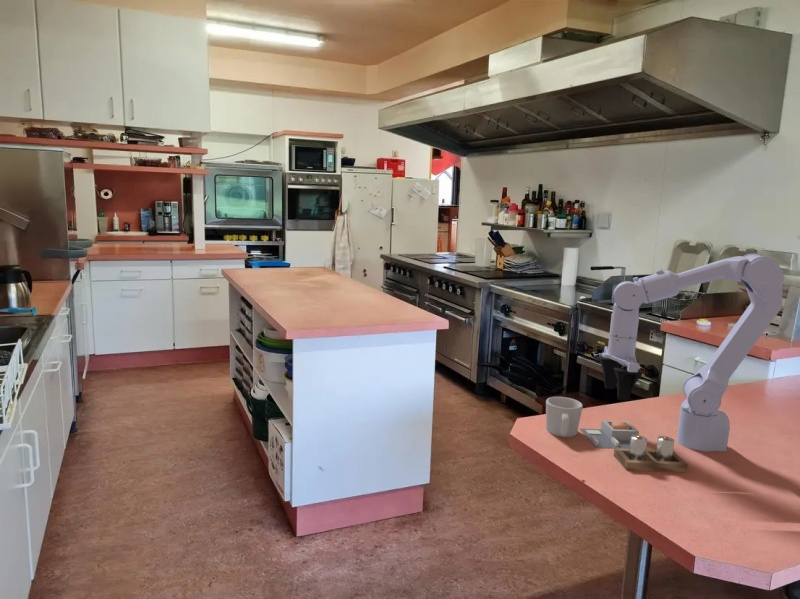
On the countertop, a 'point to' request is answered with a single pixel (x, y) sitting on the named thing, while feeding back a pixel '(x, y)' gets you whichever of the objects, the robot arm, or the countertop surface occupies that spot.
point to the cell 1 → (637, 448)
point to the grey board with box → (610, 436)
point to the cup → (563, 416)
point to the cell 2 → (664, 448)
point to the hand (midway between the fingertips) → (616, 393)
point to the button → (620, 425)
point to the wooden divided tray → (650, 462)
